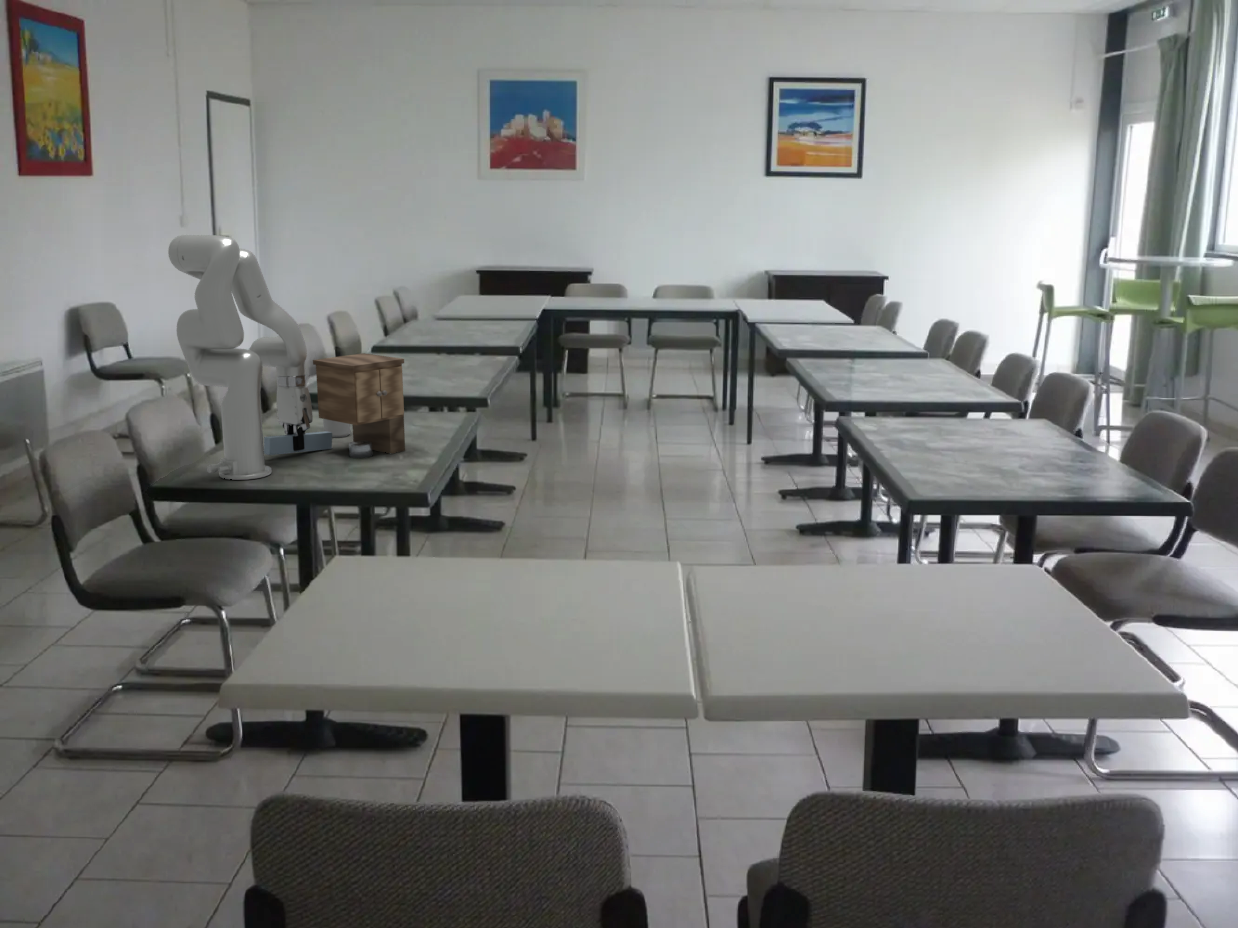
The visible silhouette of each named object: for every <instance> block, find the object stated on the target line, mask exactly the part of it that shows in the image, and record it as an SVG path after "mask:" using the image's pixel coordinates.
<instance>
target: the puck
mask: <svg viewBox="0 0 1238 928" xmlns="http://www.w3.org/2000/svg"><path fill="white" fill-rule="evenodd" d="M348 449H349V450H348V451H349V454H348V455H349V457H350V458H352V459H367V458H371V457H372V456H373V450H372V442H369V441H355V442H353V441H352V442H349V443H348Z"/></svg>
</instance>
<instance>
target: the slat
mask: <svg viewBox="0 0 1238 928" xmlns="http://www.w3.org/2000/svg"><path fill="white" fill-rule="evenodd" d="M293 436H294V434H291V435H286V434H283V435H282V434H281V435H272V436H271V435H270V436H263V446H264V455H267V456H275V455H285V454H293V453H303V452H314V451H321V450H322V451H324V450H331V449H333V438H332V432H327V431H324V430H323V431H316V432H305V435H304V447H305V448H304V449H303V450H298V451H294V450H293Z"/></svg>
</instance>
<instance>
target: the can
mask: <svg viewBox="0 0 1238 928" xmlns="http://www.w3.org/2000/svg"><path fill="white" fill-rule="evenodd" d="M322 421H323V432H324V431H327V432H332V439H333V438H336V439H337V438H338V439H339V438H345V437H347V436H349V435H350V433H351V431H352V430H351V429H352V428H351V424H347V423H342V422H337V421H332V420H327V419H323V420H322Z"/></svg>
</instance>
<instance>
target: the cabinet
mask: <svg viewBox="0 0 1238 928" xmlns="http://www.w3.org/2000/svg"><path fill="white" fill-rule="evenodd" d="M402 364H405V358H400V357H393V356H387V355H386V356H385V355H379V354H371V353H366V352H364V353H363V352H362V353H356V354H347V355H339V356H333V357H326V358H319V359H318V358H316V359H312V365H315V372H316V373H315V374H316V390H317V392H316V393H317V408H318V419H327V420H332V421H337V422H342V423H347V424H350V425H352V440H353V441H352V442H355V441H369V442H372V451H377V452H381V453H385V452H386V453H387V454H389V453H392V454H397V453H401V452H406V439H405V438H406V436H405V417H404V415H405V409H404V408H405V405H404V381H403V380H404V379H403V366H402ZM396 452H397V453H396ZM386 453H385V454H386Z"/></svg>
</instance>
